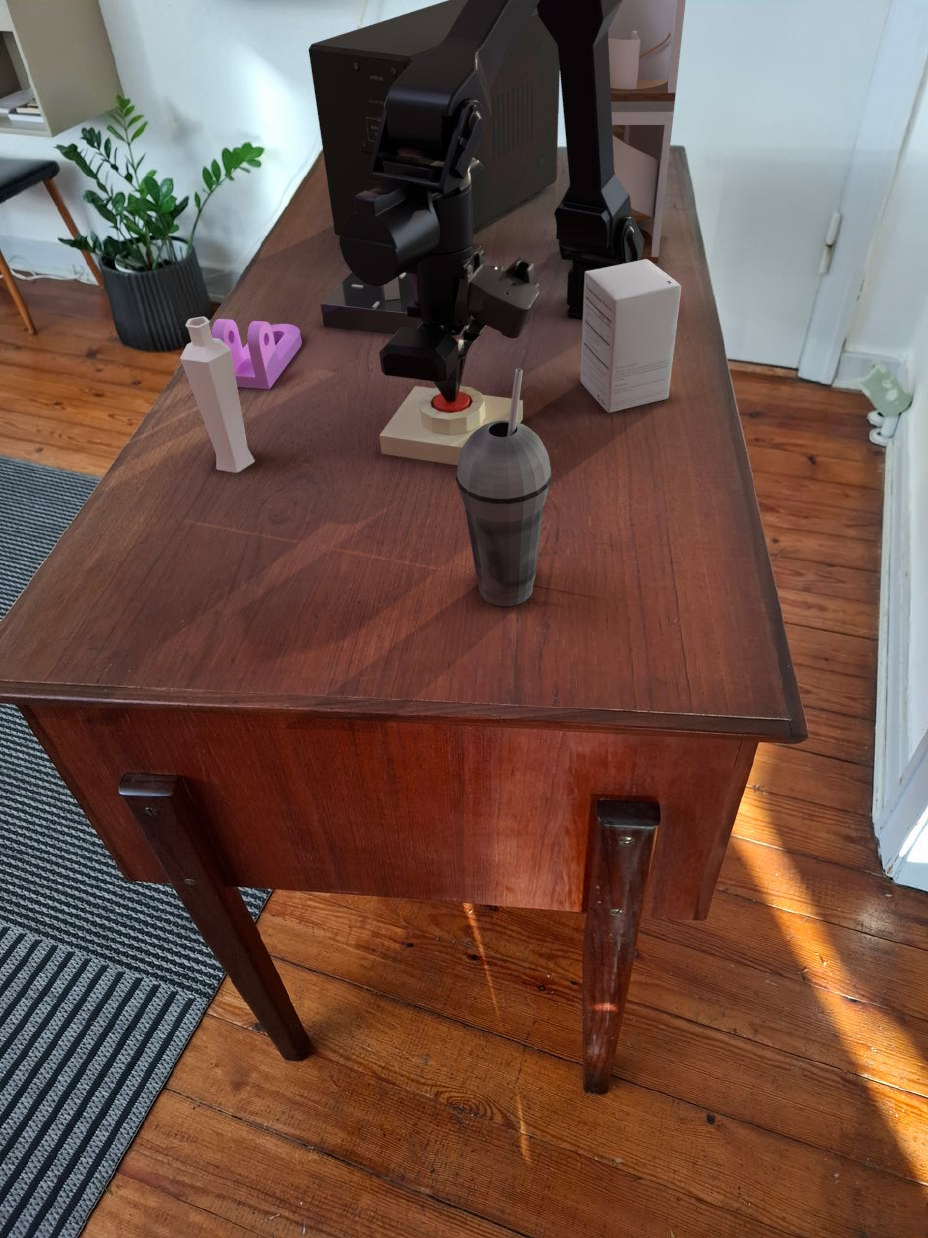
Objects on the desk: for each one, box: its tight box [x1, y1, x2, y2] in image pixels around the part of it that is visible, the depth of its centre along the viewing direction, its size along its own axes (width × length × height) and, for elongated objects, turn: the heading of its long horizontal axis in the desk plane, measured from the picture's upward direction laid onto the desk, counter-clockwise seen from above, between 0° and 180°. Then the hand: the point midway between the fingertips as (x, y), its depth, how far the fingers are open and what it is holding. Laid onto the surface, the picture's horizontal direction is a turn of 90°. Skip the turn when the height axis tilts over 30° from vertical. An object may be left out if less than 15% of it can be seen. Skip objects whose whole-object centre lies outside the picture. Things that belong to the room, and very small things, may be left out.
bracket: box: [211, 318, 303, 390], centre depth 103 cm, size 13×6×7 cm, turn 167°
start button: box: [434, 392, 470, 413], centre depth 90 cm, size 4×4×2 cm
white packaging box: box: [579, 259, 682, 414], centre depth 93 cm, size 7×7×13 cm
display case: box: [608, 0, 687, 267], centre depth 111 cm, size 11×11×35 cm
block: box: [379, 385, 524, 466], centre depth 91 cm, size 12×10×4 cm
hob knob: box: [381, 277, 400, 300], centre depth 110 cm, size 6×2×5 cm, turn 11°
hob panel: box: [320, 271, 422, 335], centre depth 112 cm, size 14×11×3 cm
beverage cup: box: [455, 368, 553, 607], centre depth 68 cm, size 7×7×20 cm
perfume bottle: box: [179, 316, 256, 474], centre depth 85 cm, size 5×4×15 cm
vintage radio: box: [308, 0, 561, 237], centre depth 129 cm, size 38×20×25 cm, turn 144°
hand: (451, 399), depth 89 cm, fingers closed, pressing on start button
